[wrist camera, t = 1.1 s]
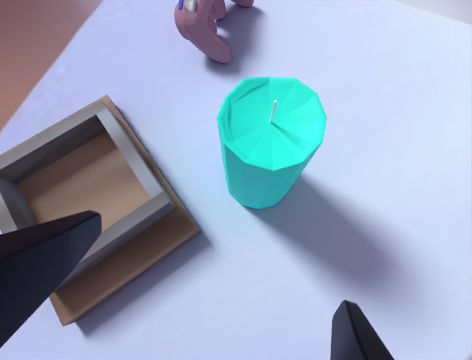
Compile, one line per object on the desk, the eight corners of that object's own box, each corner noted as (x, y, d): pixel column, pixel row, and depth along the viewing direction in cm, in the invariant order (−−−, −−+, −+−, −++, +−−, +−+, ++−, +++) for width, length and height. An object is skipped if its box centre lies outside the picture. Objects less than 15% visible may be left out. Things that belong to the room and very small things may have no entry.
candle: (301, 166, 25) (356, 82, 13) (271, 222, 23) (304, 180, 12) (245, 137, 26) (252, 35, 14) (213, 188, 24) (191, 120, 13)
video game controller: (225, 8, 33) (194, -54, 27) (258, -1, 31) (231, -71, 25) (199, 71, 30) (157, 16, 24) (232, 67, 28) (195, 4, 22)
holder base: (201, 231, 23) (193, 224, 19) (74, 322, 21) (38, 335, 17) (114, 103, 27) (93, 77, 23) (0, 168, 25) (-43, 151, 21)
